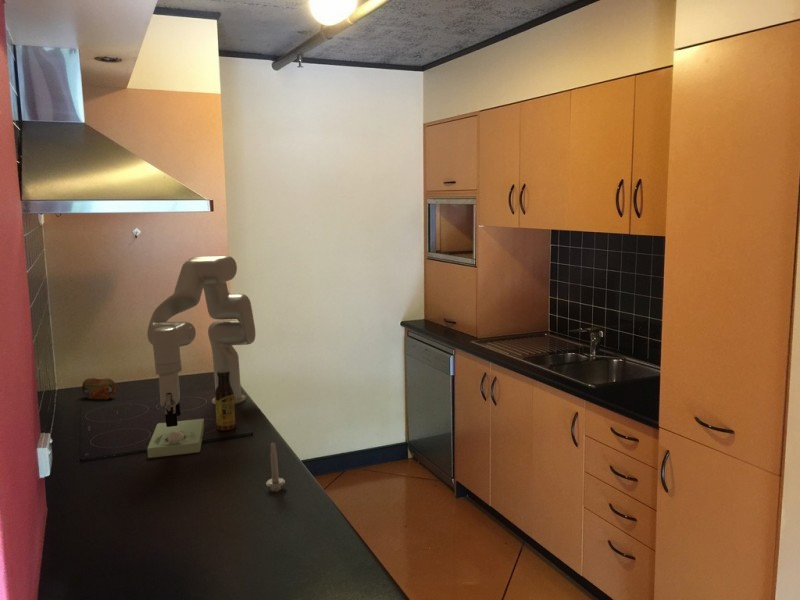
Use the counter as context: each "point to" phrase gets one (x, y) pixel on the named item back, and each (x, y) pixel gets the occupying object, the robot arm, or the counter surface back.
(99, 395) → the tin
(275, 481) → the screw
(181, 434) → the ball
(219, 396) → the sauce bottle
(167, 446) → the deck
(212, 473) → the counter surface
